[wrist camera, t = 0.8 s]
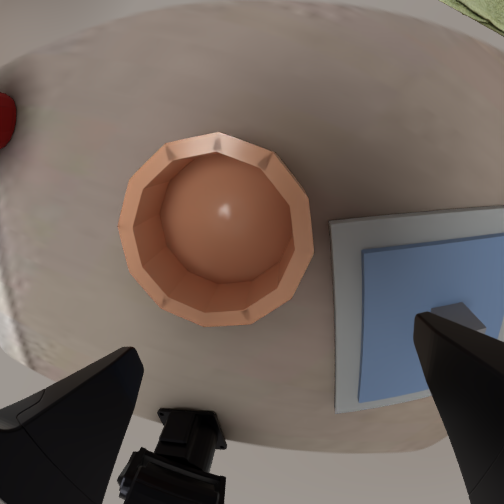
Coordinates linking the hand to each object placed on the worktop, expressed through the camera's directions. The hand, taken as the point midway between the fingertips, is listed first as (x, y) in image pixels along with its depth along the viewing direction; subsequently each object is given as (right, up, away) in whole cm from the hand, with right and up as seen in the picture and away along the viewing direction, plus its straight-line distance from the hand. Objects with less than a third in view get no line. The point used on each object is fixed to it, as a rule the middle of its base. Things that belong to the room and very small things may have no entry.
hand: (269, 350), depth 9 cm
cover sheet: (+15, -3, +12) cm, 19 cm away
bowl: (-2, +5, +13) cm, 14 cm away
